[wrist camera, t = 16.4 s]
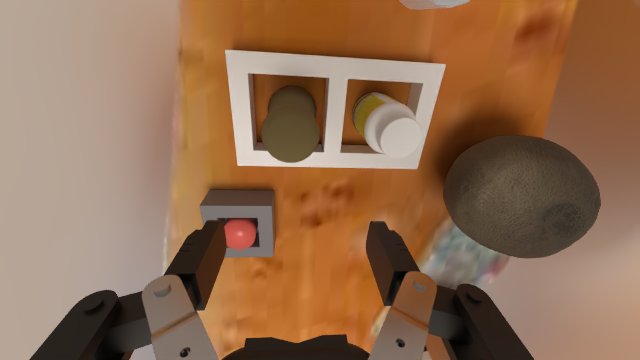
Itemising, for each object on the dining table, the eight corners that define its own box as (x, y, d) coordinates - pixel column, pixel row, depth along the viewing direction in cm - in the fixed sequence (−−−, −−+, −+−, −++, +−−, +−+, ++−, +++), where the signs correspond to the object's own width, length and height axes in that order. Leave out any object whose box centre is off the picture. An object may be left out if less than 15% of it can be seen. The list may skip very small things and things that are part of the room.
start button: (257, 210, 34) (253, 224, 32) (258, 234, 36) (255, 249, 34) (224, 210, 34) (218, 224, 31) (228, 235, 36) (223, 249, 33)
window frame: (432, 62, 29) (445, 64, 26) (408, 159, 35) (417, 169, 32) (232, 49, 26) (225, 49, 24) (242, 156, 32) (237, 165, 30)
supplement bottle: (350, 135, 32) (370, 166, 24) (352, 92, 30) (375, 109, 21) (390, 133, 33) (423, 163, 24) (395, 91, 30) (435, 107, 21)
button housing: (274, 190, 35) (271, 205, 32) (275, 238, 39) (273, 256, 36) (209, 189, 34) (199, 205, 31) (218, 238, 38) (210, 257, 35)
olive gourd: (262, 89, 29) (244, 110, 19) (313, 82, 29) (321, 98, 19) (273, 138, 32) (263, 177, 22) (319, 131, 32) (329, 167, 22)
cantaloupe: (507, 97, 31) (658, 131, 18) (523, 177, 38) (644, 246, 25) (407, 152, 34) (476, 217, 21) (437, 219, 40) (506, 301, 27)
